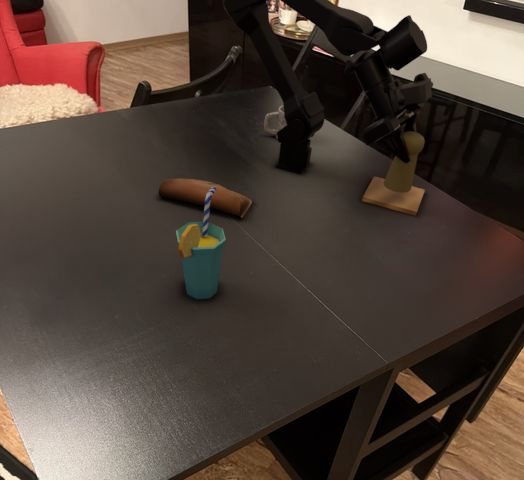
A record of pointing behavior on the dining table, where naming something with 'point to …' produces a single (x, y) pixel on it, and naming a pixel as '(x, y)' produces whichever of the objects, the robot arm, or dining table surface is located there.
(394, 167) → the pepper shaker
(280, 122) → the mug
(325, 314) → the dining table surface
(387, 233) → the dining table surface
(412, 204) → the cork mat
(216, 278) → the cup
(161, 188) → the sunglasses case
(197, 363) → the dining table surface
